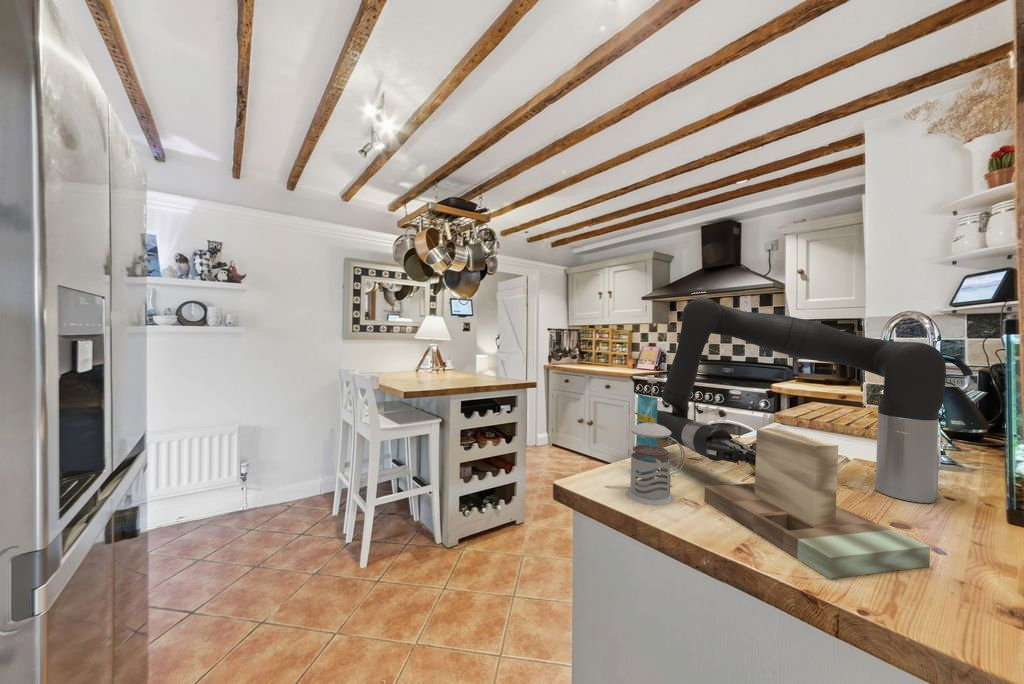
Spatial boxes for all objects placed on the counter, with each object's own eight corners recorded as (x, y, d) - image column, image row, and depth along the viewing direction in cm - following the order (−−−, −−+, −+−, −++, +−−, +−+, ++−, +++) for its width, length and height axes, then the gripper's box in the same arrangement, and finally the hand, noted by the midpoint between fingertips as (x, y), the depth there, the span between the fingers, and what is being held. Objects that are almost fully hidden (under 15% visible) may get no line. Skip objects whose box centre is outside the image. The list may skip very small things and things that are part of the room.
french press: (621, 485, 88) (624, 374, 88) (675, 488, 87) (678, 375, 86) (630, 504, 78) (632, 379, 78) (690, 507, 77) (694, 380, 77)
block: (774, 493, 77) (776, 428, 77) (835, 523, 65) (838, 445, 65) (754, 495, 76) (756, 428, 76) (812, 525, 64) (815, 446, 64)
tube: (627, 470, 98) (629, 393, 97) (643, 468, 100) (644, 392, 99) (648, 480, 91) (651, 398, 91) (665, 478, 93) (667, 397, 93)
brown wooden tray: (779, 495, 84) (779, 481, 84) (929, 566, 58) (930, 546, 58) (704, 500, 80) (704, 486, 80) (829, 578, 55) (830, 557, 55)
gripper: (681, 425, 92) (736, 445, 75) (730, 423, 95) (795, 443, 78) (680, 456, 92) (735, 484, 75) (730, 454, 95) (794, 480, 78)
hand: (765, 463), depth 77 cm, fingers closed
